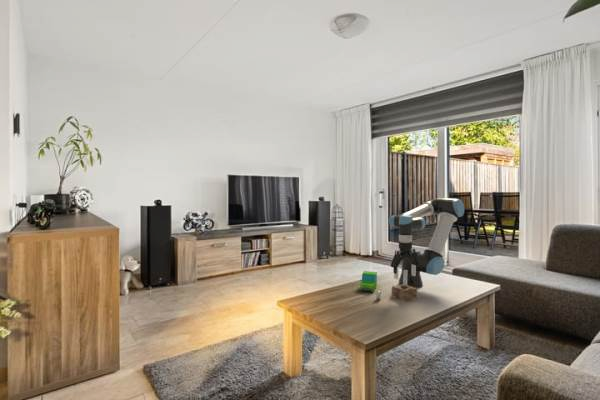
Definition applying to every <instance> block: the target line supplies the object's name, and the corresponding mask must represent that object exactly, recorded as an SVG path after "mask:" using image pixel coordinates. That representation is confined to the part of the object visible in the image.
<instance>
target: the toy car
mask: <svg viewBox="0 0 600 400" xmlns="http://www.w3.org/2000/svg"><path fill="white" fill-rule="evenodd" d="M377 274H378V272H377V271H370V270H369V271H367V270H364V271H363V272H362V276H361V279H360V285H359V286H360V289H359V290H360V291H365V292H366V291H368V292H372V293H374V292H375V289H376V288H377V287H378V286H377V283H378V282H377V281H378V280H377V279H378V278H377V277H378V275H377Z"/></svg>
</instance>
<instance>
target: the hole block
mask: <svg viewBox="0 0 600 400" xmlns="http://www.w3.org/2000/svg"><path fill="white" fill-rule="evenodd" d="M391 297H394V298H396V299H398V300H400V301H403V302H406V301H411V300H416V299H417V298H418V288H414V287H412V286H409V285H407V288H405V289H404V288H403V284H401V285H400V284H395V285H392V286H391Z"/></svg>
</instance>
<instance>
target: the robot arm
mask: <svg viewBox="0 0 600 400" xmlns="http://www.w3.org/2000/svg"><path fill="white" fill-rule="evenodd" d="M464 214H465V205H464V202H463V200H461V199H460V198H447V197H437V198H433V199H429V200H428V201H425V202H423V203H421V205H419V206H417V207H415V208H413V209H411V210H408V211H405V212H403V213H401V214H399V215H391V216H390V217H389V219H388V224H389V226H390V227H392V228H397V229H398V248H399V250H395V251H394V255H393V259H392V261H391V263H390V267H391V268H393V279H395V280H398V285H401V284H403V270H408V276H407V285H409V286H412V287H414V288H417V289H418V288H421V287H423V286H424V285H423V280H422V276H421V273H424V274H428V275H433V276H436V275H439V274H441V273H442V271H443V270H444V267H445V259H444V256H443V252H444V248H445V247H446V246H445V245H446V243H447V240H448V238H449V235H450V233H451V231H452V227H453V225H454V223H455V222H457V220H458V218H461V217H463V216H464ZM432 215H433V216H435V215H438V216H439V220H438V222H437V225H436V227H435V229H434V232H433V235H432V238H431V240H430V243H429V245H428V248H425V249H424V251H423V253H421V252H422V251H421V250H420V249H415V248H413V231H420V230H421V231H422V230H423V229H424V228H425V227H426V225H427V224H426V223H427V222H426V220H425V219H424V217H426V216H429V217H430V216H432ZM400 264H401V273H400V276H399V266H400Z"/></svg>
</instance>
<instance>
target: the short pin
mask: <svg viewBox="0 0 600 400" xmlns="http://www.w3.org/2000/svg"><path fill="white" fill-rule="evenodd" d="M375 293H376V295H375V297H376V299H375V300H376V301H378V302H380V301H381V297H382V296H381V295H382V294H381V293H382V292H381V291H380V290H376V291H375Z"/></svg>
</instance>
